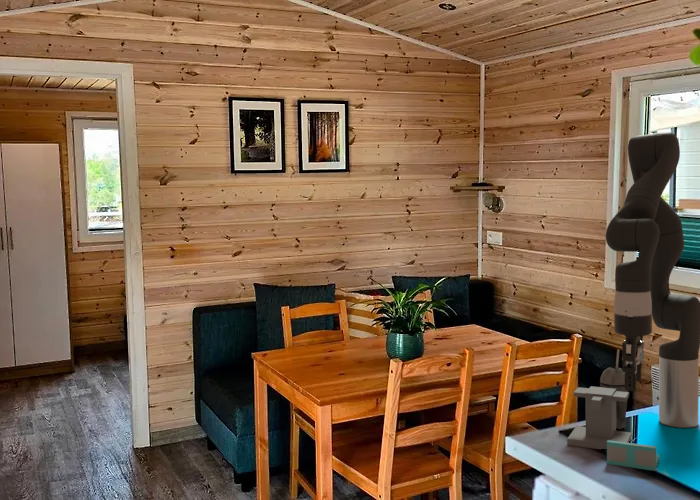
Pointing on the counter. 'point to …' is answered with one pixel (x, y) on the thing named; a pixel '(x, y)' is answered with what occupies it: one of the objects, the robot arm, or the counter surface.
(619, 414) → the beverage cup
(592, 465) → the counter surface
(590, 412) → the stand
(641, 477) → the counter surface
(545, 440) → the counter surface
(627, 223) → the robot arm
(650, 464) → the teal c-shaped bracket
